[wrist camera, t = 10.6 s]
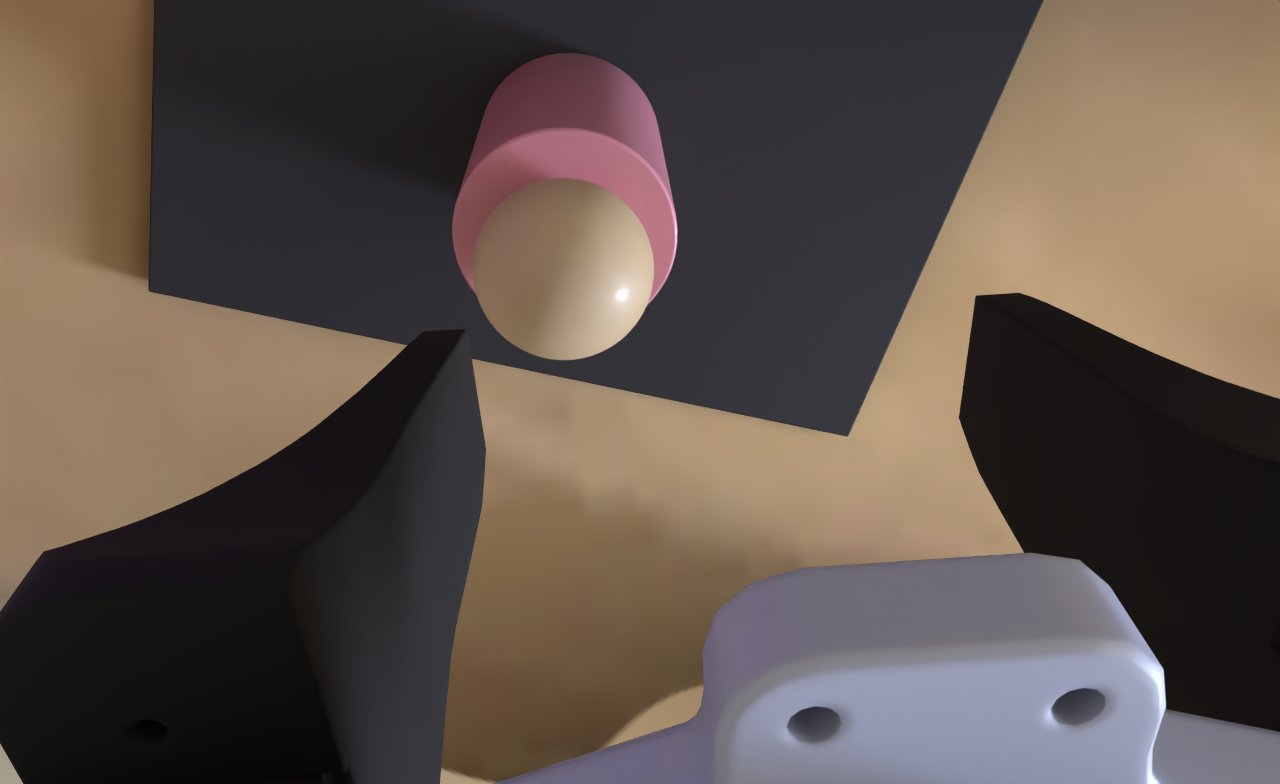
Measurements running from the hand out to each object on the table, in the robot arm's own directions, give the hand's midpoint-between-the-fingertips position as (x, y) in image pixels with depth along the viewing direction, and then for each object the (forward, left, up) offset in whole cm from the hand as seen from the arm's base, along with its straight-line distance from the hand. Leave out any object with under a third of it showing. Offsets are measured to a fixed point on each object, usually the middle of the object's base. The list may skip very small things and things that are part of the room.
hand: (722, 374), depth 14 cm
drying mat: (+2, 0, -10) cm, 11 cm away
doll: (+2, 0, -10) cm, 10 cm away
